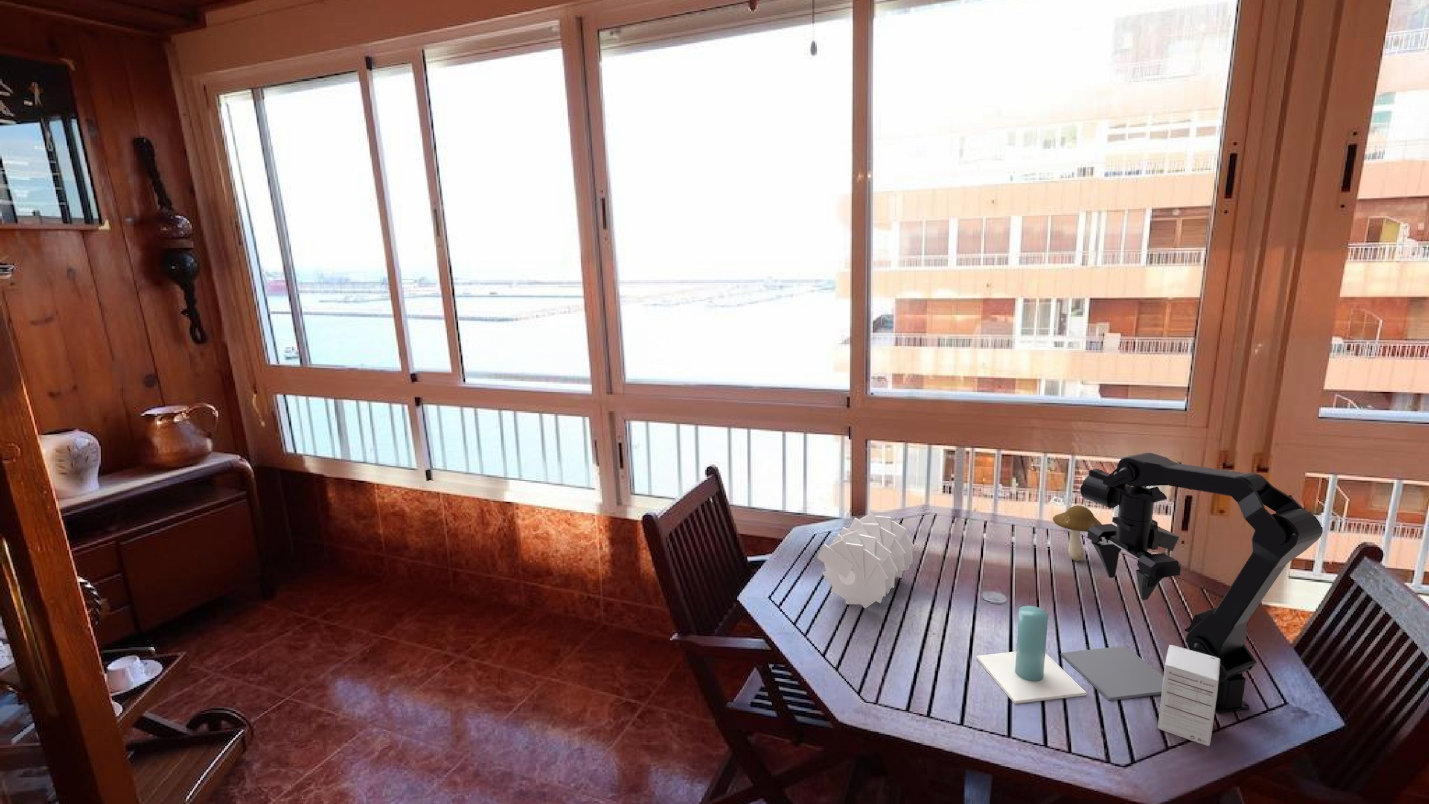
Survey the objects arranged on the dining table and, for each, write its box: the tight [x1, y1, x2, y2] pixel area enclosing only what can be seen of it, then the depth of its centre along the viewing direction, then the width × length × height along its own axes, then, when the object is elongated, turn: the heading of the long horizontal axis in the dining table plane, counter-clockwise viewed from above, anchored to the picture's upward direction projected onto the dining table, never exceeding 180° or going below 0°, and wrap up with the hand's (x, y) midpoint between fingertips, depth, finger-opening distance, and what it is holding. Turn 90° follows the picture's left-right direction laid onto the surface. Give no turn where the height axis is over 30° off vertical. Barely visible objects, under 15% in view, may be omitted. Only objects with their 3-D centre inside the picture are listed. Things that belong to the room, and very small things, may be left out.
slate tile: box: [1060, 645, 1164, 701], centre depth 127 cm, size 14×14×1 cm
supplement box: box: [1157, 644, 1220, 747], centre depth 112 cm, size 7×7×13 cm
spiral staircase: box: [816, 512, 915, 609], centre depth 161 cm, size 18×18×25 cm
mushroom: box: [1052, 505, 1102, 562], centre depth 172 cm, size 9×11×15 cm
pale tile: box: [975, 651, 1087, 704], centre depth 128 cm, size 14×14×1 cm
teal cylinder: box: [1015, 605, 1049, 682], centre depth 126 cm, size 5×5×13 cm
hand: (1127, 588), depth 133 cm, fingers open, 9 cm apart
